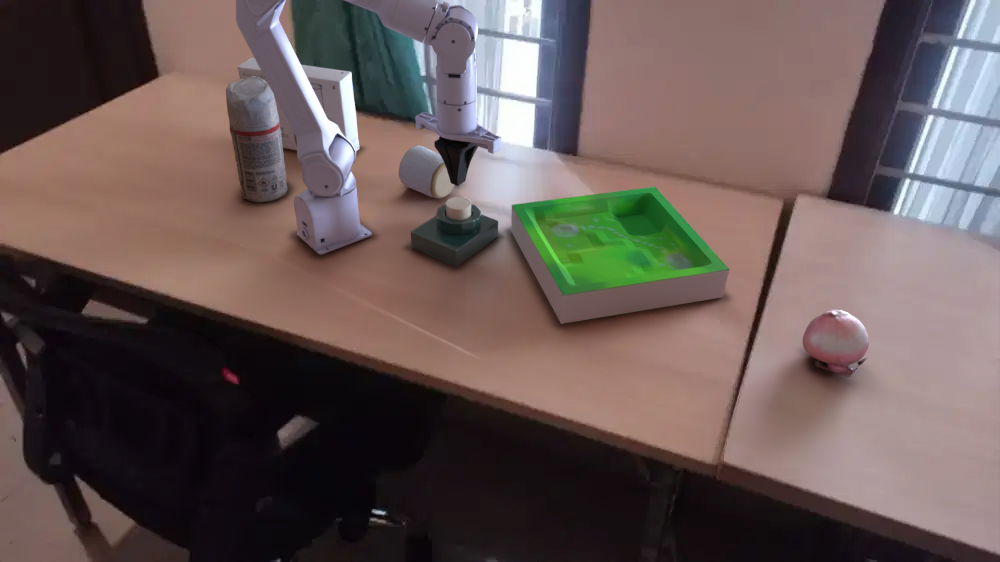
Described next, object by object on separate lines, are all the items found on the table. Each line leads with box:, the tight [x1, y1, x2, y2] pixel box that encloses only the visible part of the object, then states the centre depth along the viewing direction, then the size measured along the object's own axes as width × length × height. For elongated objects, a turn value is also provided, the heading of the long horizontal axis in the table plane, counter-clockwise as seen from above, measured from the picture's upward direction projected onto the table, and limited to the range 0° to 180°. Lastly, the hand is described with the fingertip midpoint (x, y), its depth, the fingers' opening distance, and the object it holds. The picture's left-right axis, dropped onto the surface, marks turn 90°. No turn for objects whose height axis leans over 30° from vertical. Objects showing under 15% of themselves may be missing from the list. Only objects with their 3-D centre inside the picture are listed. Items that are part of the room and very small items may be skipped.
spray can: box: [225, 76, 289, 203], centre depth 130 cm, size 8×8×20 cm
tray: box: [510, 186, 730, 325], centre depth 118 cm, size 25×25×5 cm
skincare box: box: [236, 57, 360, 152], centre depth 146 cm, size 21×5×16 cm, turn 73°
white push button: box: [445, 196, 472, 220], centre depth 121 cm, size 4×4×2 cm
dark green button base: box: [410, 203, 499, 268], centre depth 122 cm, size 11×9×5 cm
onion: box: [802, 309, 870, 378], centre depth 99 cm, size 8×8×7 cm
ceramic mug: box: [398, 144, 456, 200], centre depth 136 cm, size 11×8×8 cm
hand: (458, 182), depth 118 cm, fingers closed
